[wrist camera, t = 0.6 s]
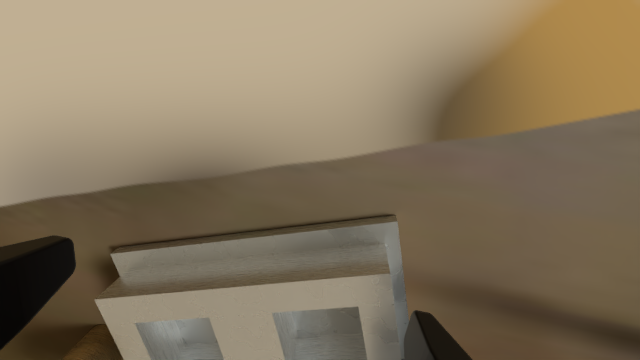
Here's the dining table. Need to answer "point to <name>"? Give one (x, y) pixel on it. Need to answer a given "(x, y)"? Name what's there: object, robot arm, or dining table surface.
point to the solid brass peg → (95, 346)
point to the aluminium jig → (263, 295)
